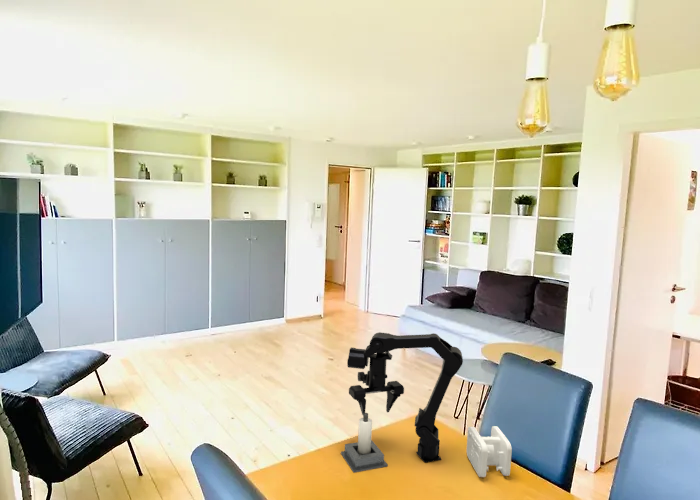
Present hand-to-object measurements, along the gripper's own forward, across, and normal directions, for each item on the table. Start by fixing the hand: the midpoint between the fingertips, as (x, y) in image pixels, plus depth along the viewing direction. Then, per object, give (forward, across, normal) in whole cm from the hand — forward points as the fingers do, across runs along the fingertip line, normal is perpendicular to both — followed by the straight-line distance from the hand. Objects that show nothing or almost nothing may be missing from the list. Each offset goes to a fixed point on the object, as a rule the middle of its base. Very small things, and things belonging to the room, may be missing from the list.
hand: (375, 413), depth 160 cm
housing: (+13, +6, +5) cm, 15 cm away
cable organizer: (+13, -31, +22) cm, 40 cm away
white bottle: (+12, +6, +5) cm, 15 cm away
